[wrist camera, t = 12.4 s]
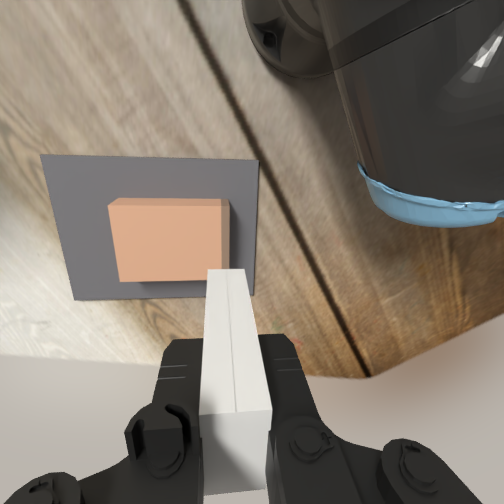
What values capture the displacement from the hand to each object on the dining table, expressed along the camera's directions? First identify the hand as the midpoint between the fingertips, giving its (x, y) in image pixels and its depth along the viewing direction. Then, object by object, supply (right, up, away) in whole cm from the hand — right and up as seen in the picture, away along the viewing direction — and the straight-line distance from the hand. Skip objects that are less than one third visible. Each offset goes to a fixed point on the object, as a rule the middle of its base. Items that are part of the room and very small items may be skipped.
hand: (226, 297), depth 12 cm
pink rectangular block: (-16, +4, +25) cm, 30 cm away
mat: (-11, +5, +28) cm, 30 cm away
